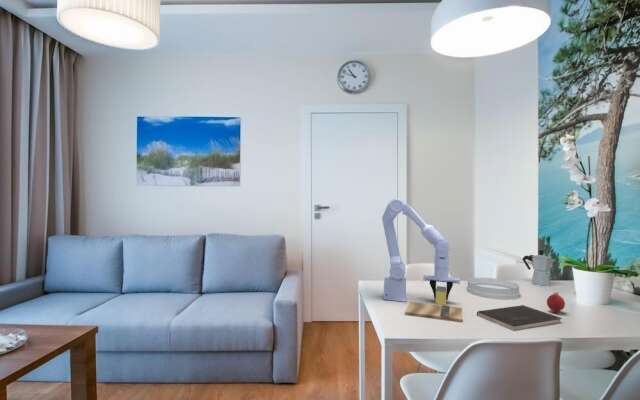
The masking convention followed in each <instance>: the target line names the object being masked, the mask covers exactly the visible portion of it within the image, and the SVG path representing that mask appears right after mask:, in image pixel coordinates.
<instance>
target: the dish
mask: <svg viewBox="0 0 640 400" xmlns="http://www.w3.org/2000/svg"><path fill="white" fill-rule="evenodd" d="M466 291H467V293H469V294H471V295H474V296H477V297H480V298H484V299H491V300H492V299H493V300H501V301H502V300H504V301H506V300H507V301H508V300H510V299H511V300H516V298H517V299H519V298H520V285H519V284H518V283H516V282H513V281H510V280H506V279H501V278H494V277H493V278H492V277H473V278H472V277H471V278H469V279H467V285H466Z"/></svg>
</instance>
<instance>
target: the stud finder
mask: <svg viewBox="0 0 640 400" xmlns="http://www.w3.org/2000/svg"><path fill="white" fill-rule="evenodd" d="M446 293H447V286H442V285H441V286H439V285H436V299H435V305H441V306H442V305H445V306H447V300H446Z"/></svg>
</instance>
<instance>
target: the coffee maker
mask: <svg viewBox="0 0 640 400" xmlns="http://www.w3.org/2000/svg"><path fill="white" fill-rule="evenodd" d="M544 252H545V251H544V250H542V249H540V250H538V254H536V255H534V254H530V255H524V256H523V257H522V262H523V263H524V264H525V266H526V268H527V270H528V271H529V270H531V269H533V274H532V278H531V283H532V284H534V285H533V286H535V285H540V286H550V285H552V284H551V279H550V273H549V271H550V269H551V266H552V265H553V263H554V262H555V261H556V259H555V258H554V259H553V258H551V257H550V256H547V255H544ZM527 260H528V261H530V262H531V263H532V268H531V266H530V265H529V263H528V262H527ZM532 284H531V285H532ZM540 286H539V287H540ZM550 287H551V286H550Z"/></svg>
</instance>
